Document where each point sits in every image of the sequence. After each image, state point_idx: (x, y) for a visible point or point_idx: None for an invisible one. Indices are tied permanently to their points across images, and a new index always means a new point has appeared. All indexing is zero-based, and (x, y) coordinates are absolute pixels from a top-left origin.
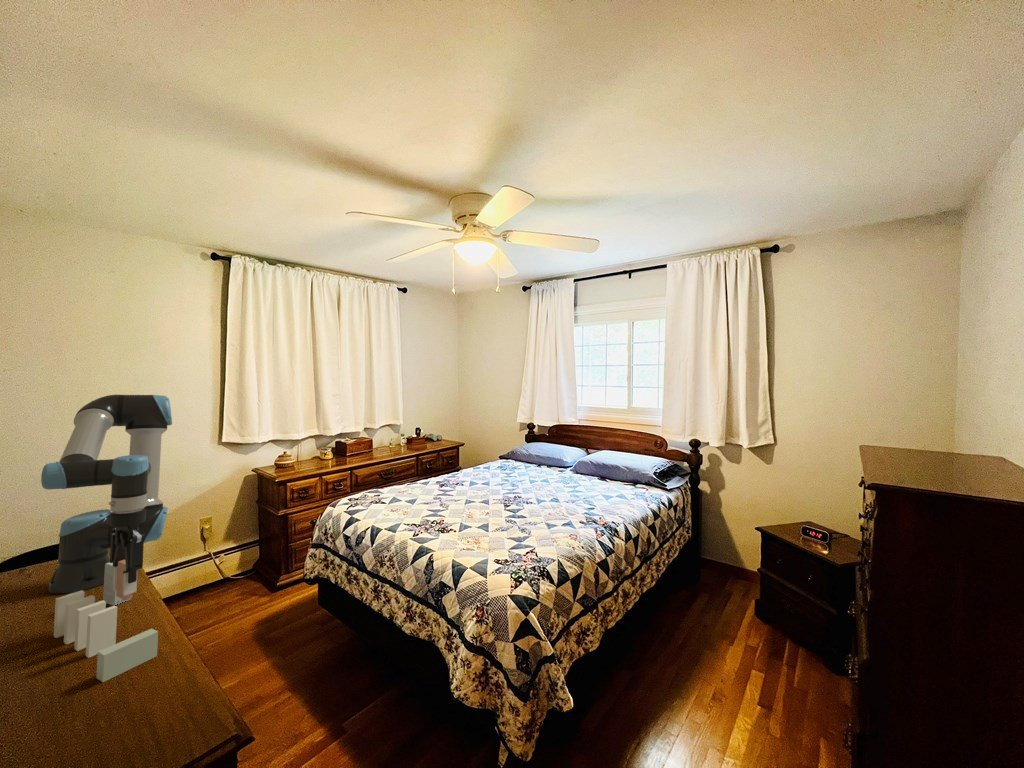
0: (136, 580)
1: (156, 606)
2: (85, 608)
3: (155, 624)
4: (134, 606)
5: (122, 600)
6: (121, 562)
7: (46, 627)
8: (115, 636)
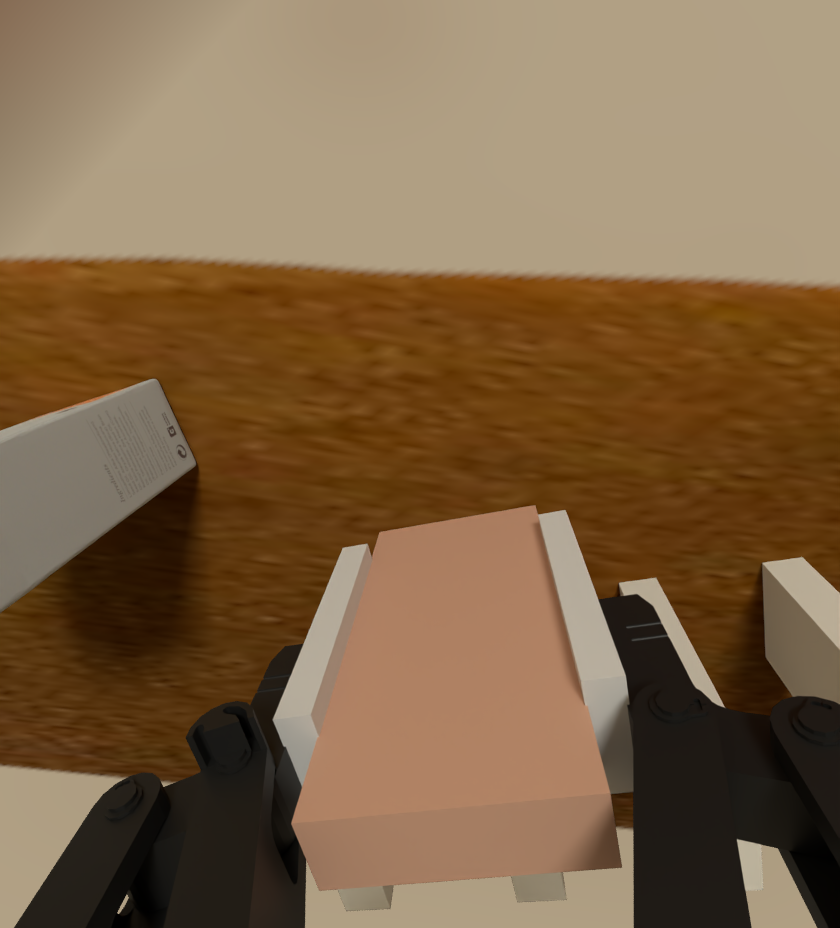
0: (587, 575)
1: (414, 278)
2: (756, 864)
3: (726, 349)
4: (294, 381)
5: (170, 428)
6: (410, 876)
7: (246, 701)
8: (837, 593)
